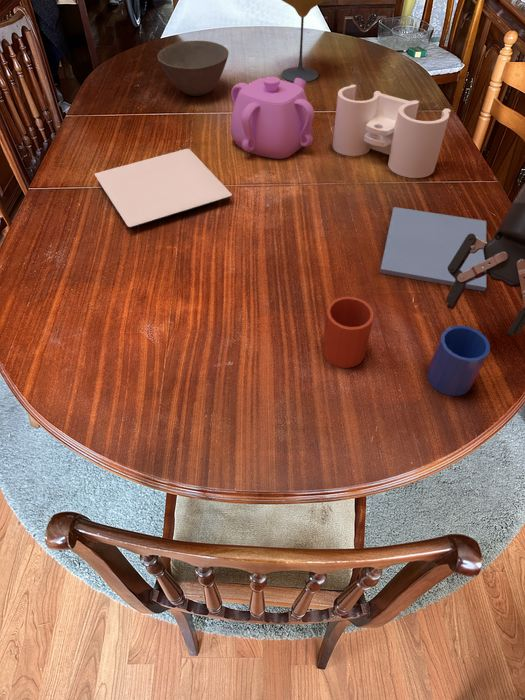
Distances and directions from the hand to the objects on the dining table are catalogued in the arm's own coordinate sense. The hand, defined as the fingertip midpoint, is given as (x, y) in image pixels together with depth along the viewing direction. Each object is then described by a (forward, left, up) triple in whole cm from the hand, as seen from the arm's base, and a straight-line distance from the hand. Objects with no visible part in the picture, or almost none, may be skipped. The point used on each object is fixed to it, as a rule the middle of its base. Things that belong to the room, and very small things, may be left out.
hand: (478, 321), depth 70 cm
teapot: (+45, -60, -9) cm, 76 cm away
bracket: (+19, -58, -9) cm, 62 cm away
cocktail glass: (+48, -99, -9) cm, 111 cm away
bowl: (+73, -80, -9) cm, 109 cm away
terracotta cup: (+17, +3, -9) cm, 20 cm away
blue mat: (+5, -27, -9) cm, 29 cm away
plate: (+62, -31, -9) cm, 70 cm away
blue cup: (+1, +4, -9) cm, 10 cm away
